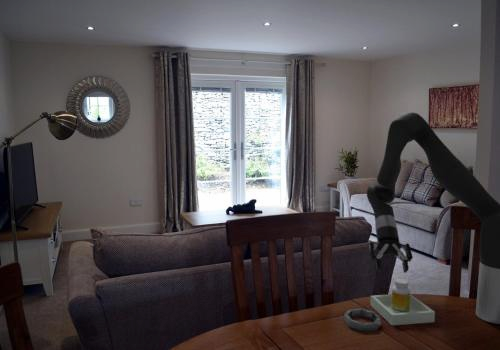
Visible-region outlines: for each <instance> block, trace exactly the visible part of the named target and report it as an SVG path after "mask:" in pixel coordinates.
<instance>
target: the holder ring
mask: <svg viewBox="0 0 500 350" xmlns="http://www.w3.org/2000/svg"><path fill="white" fill-rule="evenodd" d="M353 317H354V318H355V317H364V318H367V319H371V320H372V322H371V321H370V322H361V321H357V320H354V319H352V318H353ZM343 321H344V322H345V324H346V325H347V326H348V327H349V328H351V329H355V330H357V331H361V332H373V331H377V330H378V329H379V328H380V327H381V325H382V317H380V315H378V314H377V312H375V311H373V310H369V309H366V308H350V309H348V310H346V312H345V313H344V314H343Z"/></svg>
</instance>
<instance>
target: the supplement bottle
mask: <svg viewBox="0 0 500 350" xmlns="http://www.w3.org/2000/svg"><path fill="white" fill-rule="evenodd" d="M391 294H392V305H391V308H392V310H393V311H394V312H396V313H407V312H409V308H410V294H411V289H410V288H409V281H408V280H406V279H404V278H403V279H402V278H396V279H395V280H394V286H393V287H392V289H391Z"/></svg>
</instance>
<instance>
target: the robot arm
mask: <svg viewBox="0 0 500 350" xmlns="http://www.w3.org/2000/svg"><path fill="white" fill-rule="evenodd" d="M388 127H389V128H388V132H387V138H386V139H387V140H386V146H385V151H384V157H383V160H382V162H381V166H380V169H379V171H378V174H377V176H376V181H377V183H378V184H371V185H369V186H368V187H367V189H366V197H367V200H368V202H369V204H370V207H371V208H372V210H373V213H374V214H373V215H374V220H375V221H374V222H375V223H374V224H375V225H374V226H375V228H374V229H375V233H376V240H377V241H376V242H377V243H374V241H370V242H369V245H368V251H369V252H368V253H369V260H370V261H375V268H376V270H378V271H377V272H382V269H383V268H382V261H381V258H382V257H383V256H385V257H396V258H397V259H399V260H400V261H401V262H402V264H401V265H402V271H403V273H405V274H406V273H408V272H409V270H410V269H409V268H410V267H409V263H410V262H411V261H412V259H413V258H414V257H413V254H412V250H411V246H410V243H406V244H402V243H401V242H400V238H399V230H398V227H397V222H396V219H395V218H396V217H395V213H394V208H393V207H392V205H391V203H393V201H394V200H395V198H396V184H397V181H398V178H399V175H400V173H401V170H402V159H401V156H402V152H403V151H404V149H405V147H406V145H407V144H408V143H410V142H412V141H415V142H416V143H417V144H418V145H419V147H421V149H422V150H423V152H424V153H425V155H426V158H427V161H428V165H429V168H430V172H431V175H432V176H433V177H434V178H435V180H436V181H437V182H438V183H439V184H440V186H441V187H442V188H443V189H444V190H445V191H446V192H448V193H449V194H450V195H451V196H453V197H454V198H455V199H457V200H458V201H459V202H461V203H463V204H464V205H465V206H466V207H468V208H469V209H470V210H471V211H472V212H473V214H474V215H475V216H476V217H477V218H478V220H479V221H480V222H481V225H480V226H481V227H480V236H479V237H480V238H479V266H478V281H477V291H476V292H477V295H476V307H475V315H476V316H477V317H478V318H479V319H481V320H483V321H484V322H488V323H491V324H497V325H498V324H499V325H500V203H499V202H498V201H497V200H496V199H495V198H493V196H492V195H490V193H488V191H487V190H486V189H485V187H484V186H483V185H482V183H481V182H480V181H479V180H478V179H477V178H476V176H474V174H473V173H472V172H471V171H470V170H469V169H468V168H467V166H466V165H465V164H464V163H463V162H462V161H461V160H460V159H459V158H458V157H457V156H456V155H455V154H454V153H453V152H452V151H451V150H450V149H449V148H448V147H447V145H445V143H444V142H443V141H442V140H441V139H440V138H439V136H438V134H436V133H435V131H434V130H433V129H432V127H431V126H430V125H429V123H428V122H427V121H426V119H425V118H424V117H423V116H421V115H420V114H419V113H416V112H408V113H406V114H404V115H401V116H398V117H396V118H394V119H393V120H392V121H391V122H390V125H389V126H388ZM376 248H377V249H378V254H377V255H375V250H376ZM401 249H402V250H401ZM404 252H405V254H404ZM408 262H409V263H408Z"/></svg>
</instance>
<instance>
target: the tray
mask: <svg viewBox="0 0 500 350" xmlns="http://www.w3.org/2000/svg"><path fill="white" fill-rule="evenodd" d="M369 305H370V306H371V307H372V308H373V309H374V310H375V311H376V313H378V314H379V316H381V318H382V319H383V318H384V320H385V321H386V322H387V323H389V325H391V326H400V325H401V326H402V325H413V324H415V325H416V324H427V323H435V318H436V311H434V310H433V309H432V308H431V307H429V306H427V305H426V304H425V303H423V302H422V301H421V300H420V299H419V298H416V297H415V296H414V295H413V294H411V293H410V308H409V312H407V313H396V312H394V311H393V310H392V308H391V305H392V293H391V294H377V295H370V304H369Z"/></svg>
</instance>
